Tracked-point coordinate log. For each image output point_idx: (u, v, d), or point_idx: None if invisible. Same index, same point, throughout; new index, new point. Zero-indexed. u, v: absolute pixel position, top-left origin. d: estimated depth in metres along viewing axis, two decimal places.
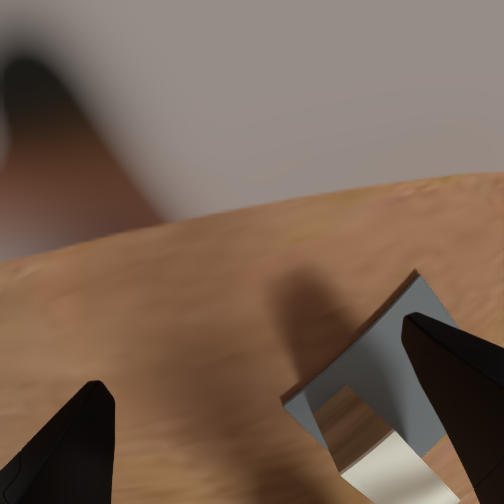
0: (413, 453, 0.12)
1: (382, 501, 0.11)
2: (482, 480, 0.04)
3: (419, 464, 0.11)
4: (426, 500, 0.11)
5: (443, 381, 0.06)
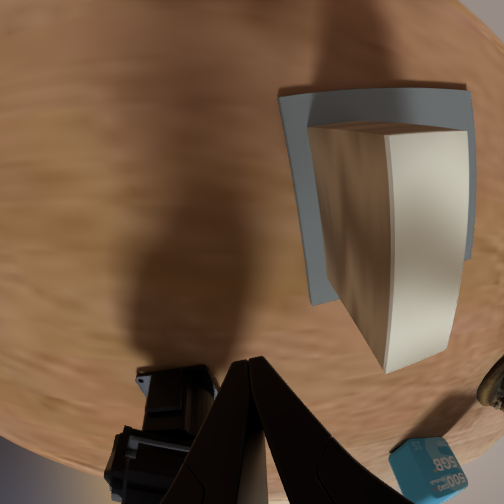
0: (467, 192, 0.09)
1: (403, 249, 0.10)
2: None
3: (462, 221, 0.09)
4: (433, 304, 0.11)
5: None
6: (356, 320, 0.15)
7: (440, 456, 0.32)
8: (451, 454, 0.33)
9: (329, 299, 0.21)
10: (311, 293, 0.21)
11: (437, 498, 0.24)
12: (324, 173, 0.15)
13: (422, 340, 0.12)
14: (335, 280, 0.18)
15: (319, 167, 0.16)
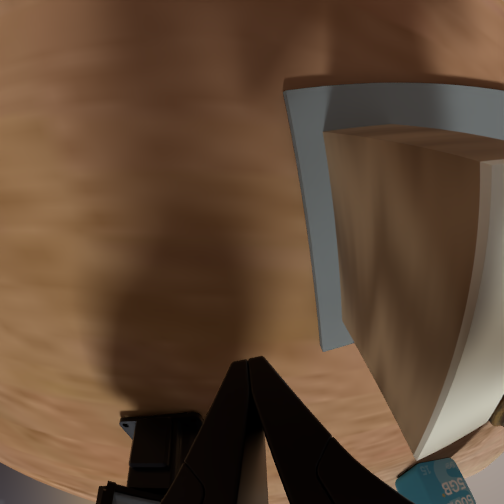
0: None
1: (475, 338, 0.05)
2: None
3: None
4: (489, 387, 0.06)
5: None
6: (381, 386, 0.11)
7: (449, 479, 0.28)
8: (460, 475, 0.29)
9: (344, 343, 0.17)
10: (322, 338, 0.17)
11: None
12: (349, 197, 0.11)
13: (466, 423, 0.07)
14: (354, 329, 0.14)
15: (341, 188, 0.12)
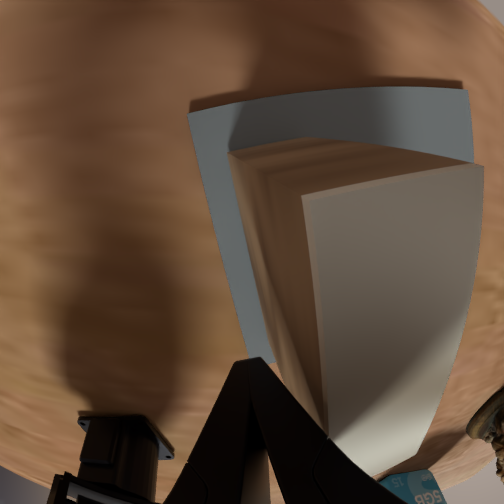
0: (472, 278, 0.05)
1: (343, 392, 0.05)
2: None
3: (457, 323, 0.05)
4: (396, 430, 0.07)
5: None
6: None
7: (424, 491, 0.28)
8: (436, 488, 0.29)
9: (273, 360, 0.17)
10: (249, 354, 0.17)
11: None
12: (247, 222, 0.11)
13: (380, 460, 0.07)
14: (274, 353, 0.14)
15: (242, 211, 0.12)
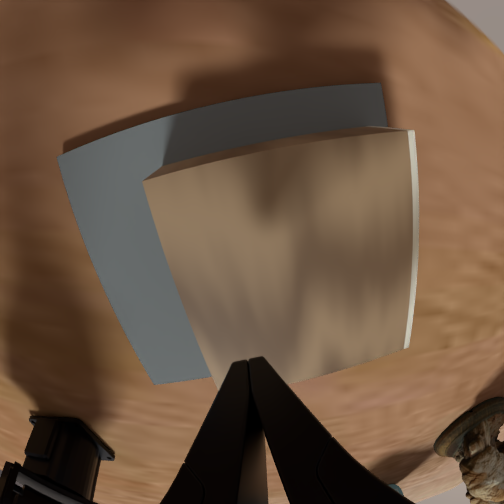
0: None
1: (414, 227, 0.11)
2: None
3: None
4: None
5: None
6: (336, 366, 0.13)
7: None
8: None
9: (172, 380, 0.17)
10: (148, 373, 0.17)
11: None
12: (226, 237, 0.10)
13: None
14: None
15: (202, 236, 0.10)
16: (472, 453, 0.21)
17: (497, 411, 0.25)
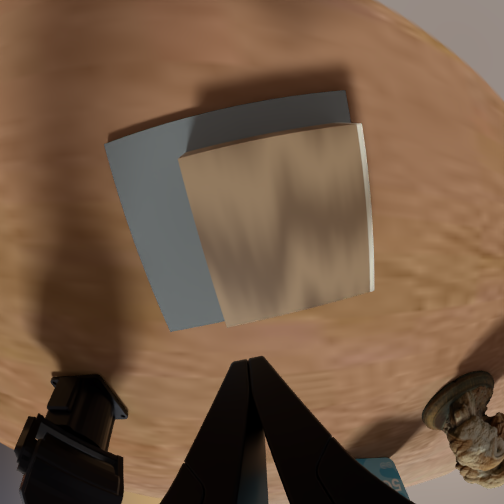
0: None
1: (367, 192, 0.16)
2: None
3: None
4: None
5: None
6: (315, 301, 0.18)
7: (381, 479, 0.33)
8: (396, 477, 0.33)
9: (186, 326, 0.22)
10: (166, 320, 0.21)
11: None
12: (232, 196, 0.15)
13: None
14: (257, 307, 0.18)
15: (216, 195, 0.15)
16: (457, 420, 0.26)
17: (481, 384, 0.30)
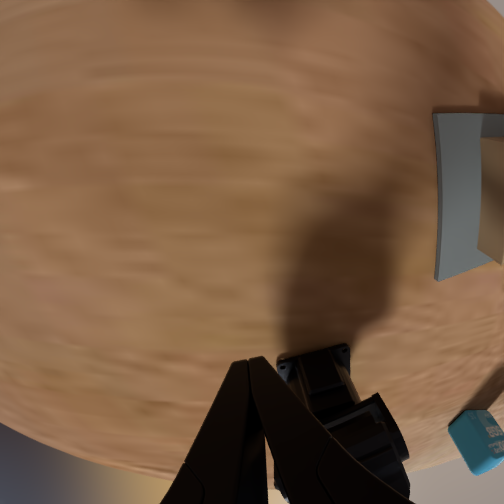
0: None
1: None
2: None
3: None
4: None
5: None
6: None
7: (490, 425, 0.34)
8: (496, 424, 0.34)
9: (449, 275, 0.23)
10: (439, 271, 0.23)
11: (496, 459, 0.25)
12: None
13: None
14: None
15: None
16: None
17: None
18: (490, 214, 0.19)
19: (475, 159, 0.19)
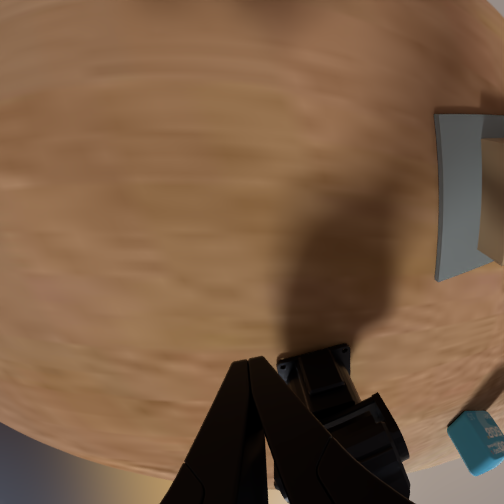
0: None
1: None
2: None
3: None
4: None
5: None
6: None
7: (489, 426, 0.34)
8: (495, 425, 0.35)
9: (449, 276, 0.23)
10: (439, 271, 0.23)
11: (495, 459, 0.25)
12: None
13: None
14: None
15: None
16: None
17: None
18: (490, 215, 0.19)
19: (476, 160, 0.19)
